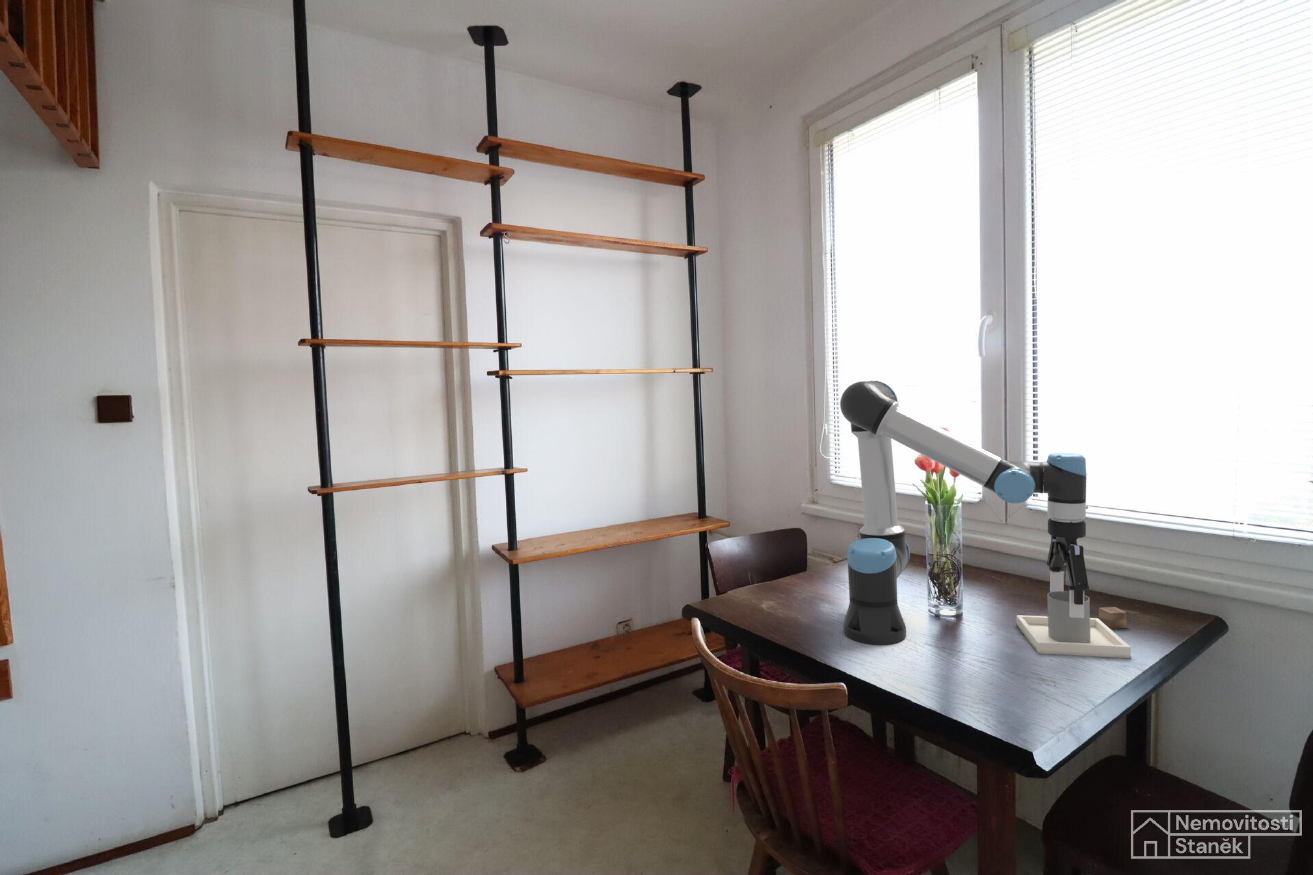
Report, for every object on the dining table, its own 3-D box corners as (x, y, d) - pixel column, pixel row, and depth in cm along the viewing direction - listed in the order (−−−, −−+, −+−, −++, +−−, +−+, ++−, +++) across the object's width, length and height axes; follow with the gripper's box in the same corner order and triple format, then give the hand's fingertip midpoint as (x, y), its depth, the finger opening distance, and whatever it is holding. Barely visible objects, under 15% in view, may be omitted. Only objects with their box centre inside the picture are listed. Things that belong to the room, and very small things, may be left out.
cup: (1097, 644, 142) (1096, 602, 142) (1057, 644, 144) (1056, 602, 143) (1080, 631, 151) (1079, 591, 150) (1042, 630, 152) (1041, 590, 152)
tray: (1038, 653, 141) (1037, 642, 141) (1016, 624, 158) (1016, 615, 158) (1130, 658, 136) (1130, 647, 136) (1098, 628, 153) (1097, 618, 153)
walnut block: (1110, 628, 153) (1110, 613, 152) (1099, 623, 157) (1098, 607, 156) (1126, 628, 152) (1126, 612, 152) (1115, 622, 156) (1115, 606, 156)
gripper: (1106, 531, 133) (1106, 627, 134) (1066, 509, 156) (1066, 591, 158) (1066, 530, 135) (1066, 625, 136) (1032, 508, 159) (1032, 589, 160)
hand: (1066, 607), depth 147 cm, fingers open, 13 cm apart
